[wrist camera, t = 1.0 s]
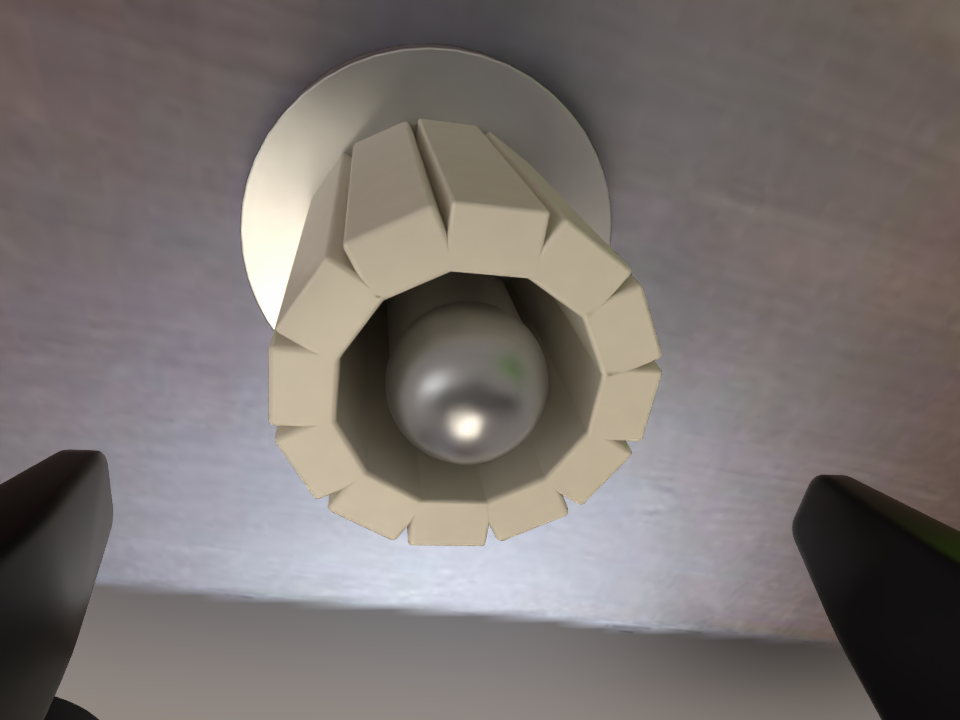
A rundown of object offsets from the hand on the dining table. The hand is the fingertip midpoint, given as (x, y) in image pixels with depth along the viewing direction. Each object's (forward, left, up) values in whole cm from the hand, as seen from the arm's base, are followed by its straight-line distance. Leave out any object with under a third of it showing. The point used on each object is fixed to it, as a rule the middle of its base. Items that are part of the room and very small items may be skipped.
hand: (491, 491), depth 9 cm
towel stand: (0, 0, -10) cm, 10 cm away
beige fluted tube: (0, 0, -9) cm, 9 cm away
